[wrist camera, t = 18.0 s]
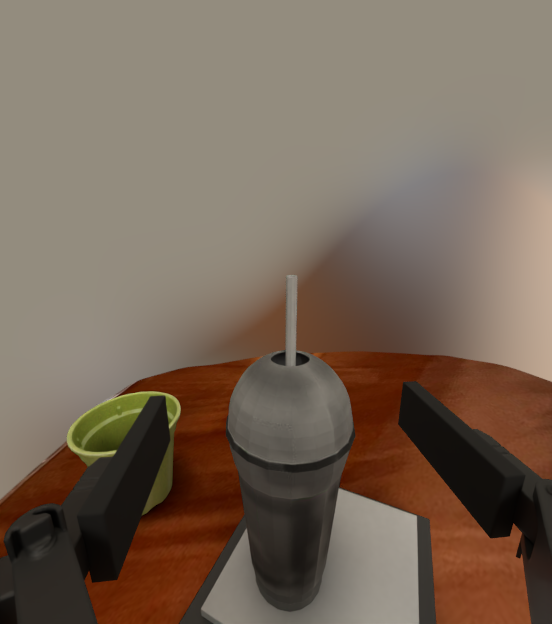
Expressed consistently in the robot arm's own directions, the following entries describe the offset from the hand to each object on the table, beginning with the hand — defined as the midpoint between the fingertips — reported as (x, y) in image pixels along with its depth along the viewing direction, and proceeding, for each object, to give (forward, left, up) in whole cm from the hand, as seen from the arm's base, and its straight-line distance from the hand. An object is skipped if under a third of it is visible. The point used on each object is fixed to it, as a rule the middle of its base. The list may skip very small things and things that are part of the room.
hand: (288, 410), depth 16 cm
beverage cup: (0, 0, -13) cm, 13 cm away
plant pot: (-17, +2, -16) cm, 23 cm away
